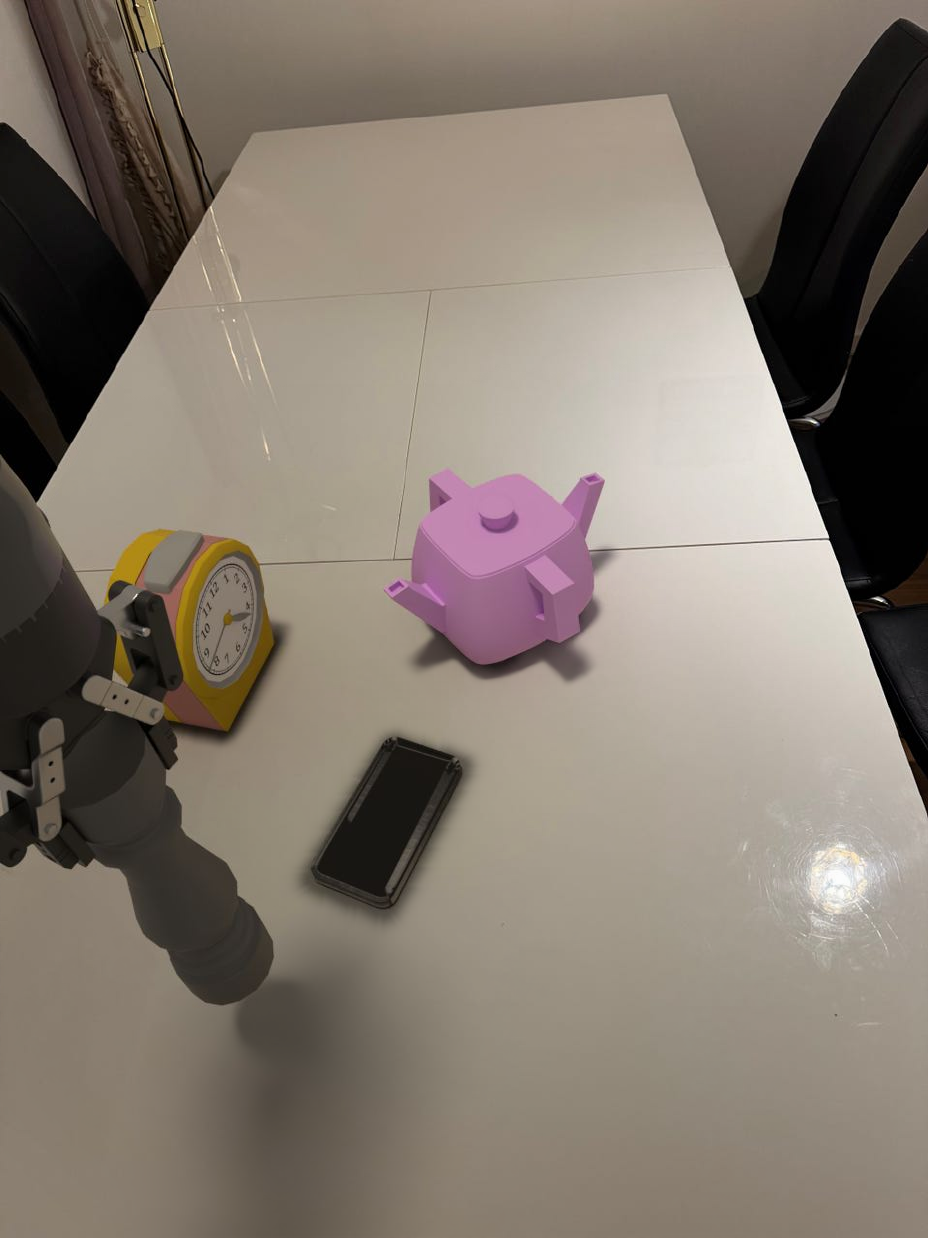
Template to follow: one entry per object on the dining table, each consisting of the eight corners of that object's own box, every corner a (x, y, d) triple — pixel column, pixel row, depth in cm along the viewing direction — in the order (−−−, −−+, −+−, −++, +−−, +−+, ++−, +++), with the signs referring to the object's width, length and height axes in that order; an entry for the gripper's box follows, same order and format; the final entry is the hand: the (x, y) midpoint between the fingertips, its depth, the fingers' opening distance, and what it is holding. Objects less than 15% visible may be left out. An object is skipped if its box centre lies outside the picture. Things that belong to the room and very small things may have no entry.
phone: (464, 759, 82) (387, 906, 74) (465, 766, 83) (389, 912, 75) (387, 733, 85) (304, 872, 76) (389, 740, 86) (307, 878, 77)
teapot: (398, 677, 91) (374, 570, 80) (429, 549, 103) (412, 440, 92) (593, 689, 88) (596, 580, 77) (602, 556, 100) (606, 445, 89)
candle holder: (267, 1003, 61) (134, 810, 42) (176, 1007, 61) (4, 817, 42) (279, 914, 65) (163, 702, 46) (193, 918, 65) (44, 709, 47)
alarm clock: (226, 747, 87) (162, 619, 73) (150, 732, 89) (74, 605, 75) (287, 631, 96) (240, 498, 83) (217, 620, 98) (160, 488, 85)
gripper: (32, 449, 41) (159, 683, 53) (-268, 681, 33) (-36, 892, 45) (158, 492, 38) (261, 729, 50) (-137, 758, 30) (72, 961, 42)
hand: (120, 805), depth 48 cm, fingers closed on candle holder, 5 cm apart
